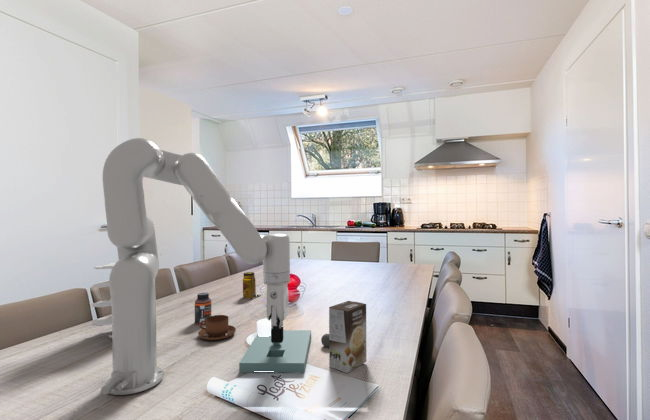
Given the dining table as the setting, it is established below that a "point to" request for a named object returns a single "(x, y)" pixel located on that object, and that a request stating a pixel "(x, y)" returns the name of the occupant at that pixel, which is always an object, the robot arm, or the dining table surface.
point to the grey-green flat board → (278, 353)
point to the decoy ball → (325, 340)
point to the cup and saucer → (216, 328)
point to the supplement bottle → (202, 308)
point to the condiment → (249, 286)
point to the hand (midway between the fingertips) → (277, 341)
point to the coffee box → (347, 336)
